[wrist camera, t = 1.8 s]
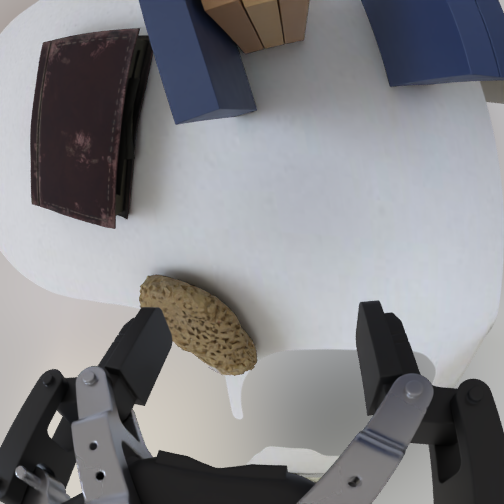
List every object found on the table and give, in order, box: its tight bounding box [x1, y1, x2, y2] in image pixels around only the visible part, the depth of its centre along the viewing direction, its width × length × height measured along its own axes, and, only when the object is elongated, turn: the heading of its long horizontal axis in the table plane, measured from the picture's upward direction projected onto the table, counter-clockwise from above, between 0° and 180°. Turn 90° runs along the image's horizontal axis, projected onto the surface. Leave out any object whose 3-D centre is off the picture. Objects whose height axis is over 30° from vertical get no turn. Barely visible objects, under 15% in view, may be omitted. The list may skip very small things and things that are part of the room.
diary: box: [30, 28, 153, 229], centre depth 29 cm, size 19×25×5 cm
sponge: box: [139, 275, 257, 376], centre depth 41 cm, size 13×8×20 cm
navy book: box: [139, 0, 257, 125], centre depth 19 cm, size 3×14×17 cm, turn 16°
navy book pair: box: [361, 0, 504, 87], centre depth 14 cm, size 6×14×17 cm, turn 16°
